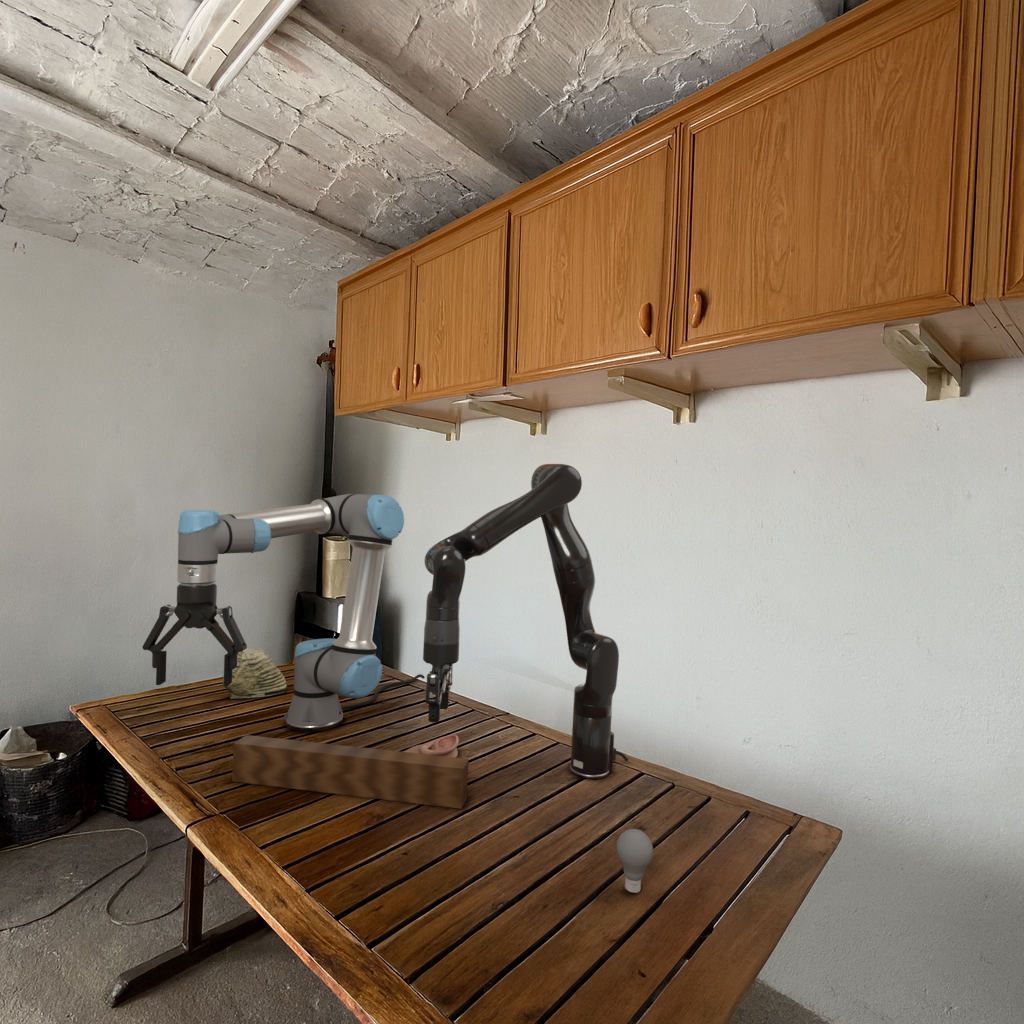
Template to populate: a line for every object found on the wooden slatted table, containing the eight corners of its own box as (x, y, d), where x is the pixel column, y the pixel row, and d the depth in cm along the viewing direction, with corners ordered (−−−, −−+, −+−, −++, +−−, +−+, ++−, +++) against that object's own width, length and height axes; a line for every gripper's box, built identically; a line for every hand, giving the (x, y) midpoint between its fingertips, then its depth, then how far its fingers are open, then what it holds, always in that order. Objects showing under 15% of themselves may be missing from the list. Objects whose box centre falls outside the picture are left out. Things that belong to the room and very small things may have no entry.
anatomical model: (397, 744, 153) (414, 727, 164) (396, 760, 153) (413, 743, 165) (449, 750, 151) (463, 733, 162) (449, 767, 151) (462, 749, 162)
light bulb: (610, 879, 108) (613, 822, 108) (644, 879, 109) (647, 822, 109) (619, 902, 102) (622, 840, 102) (655, 901, 103) (658, 840, 103)
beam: (231, 781, 139) (233, 743, 139) (244, 772, 144) (246, 734, 144) (461, 809, 131) (463, 768, 131) (467, 797, 136) (468, 758, 136)
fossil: (218, 695, 195) (220, 647, 195) (278, 685, 208) (279, 640, 207) (228, 703, 189) (230, 653, 188) (289, 692, 201) (290, 645, 201)
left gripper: (125, 584, 128) (123, 688, 129) (252, 587, 130) (249, 690, 131) (144, 579, 136) (141, 677, 136) (263, 582, 138) (260, 679, 138)
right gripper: (452, 647, 127) (448, 728, 127) (465, 633, 141) (462, 705, 141) (415, 645, 127) (412, 725, 128) (432, 631, 142) (429, 703, 142)
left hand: (194, 683), depth 133 cm, fingers open, 13 cm apart
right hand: (438, 715), depth 134 cm, fingers open, 8 cm apart
